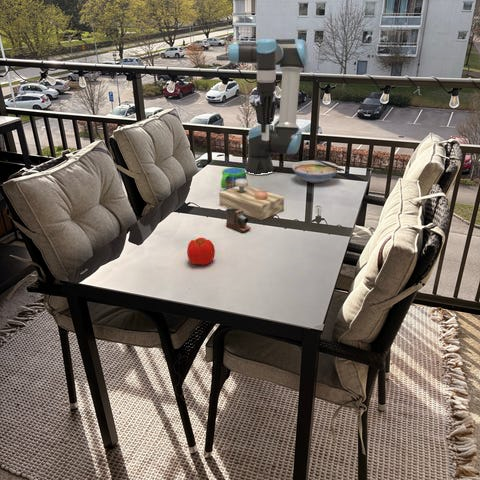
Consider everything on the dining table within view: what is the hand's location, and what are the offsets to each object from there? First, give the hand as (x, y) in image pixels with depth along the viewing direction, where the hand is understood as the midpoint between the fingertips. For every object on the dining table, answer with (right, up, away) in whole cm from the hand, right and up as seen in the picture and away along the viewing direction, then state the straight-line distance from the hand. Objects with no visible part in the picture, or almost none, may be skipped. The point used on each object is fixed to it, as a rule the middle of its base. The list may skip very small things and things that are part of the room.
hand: (265, 140), depth 194 cm
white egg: (-10, -23, +3) cm, 25 cm away
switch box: (-6, -28, +2) cm, 29 cm away
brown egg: (-2, -28, -3) cm, 29 cm away
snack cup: (-13, -20, +21) cm, 32 cm away
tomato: (-24, -49, -42) cm, 69 cm away
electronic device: (-11, -38, -18) cm, 43 cm away
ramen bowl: (+26, -13, +34) cm, 45 cm away
